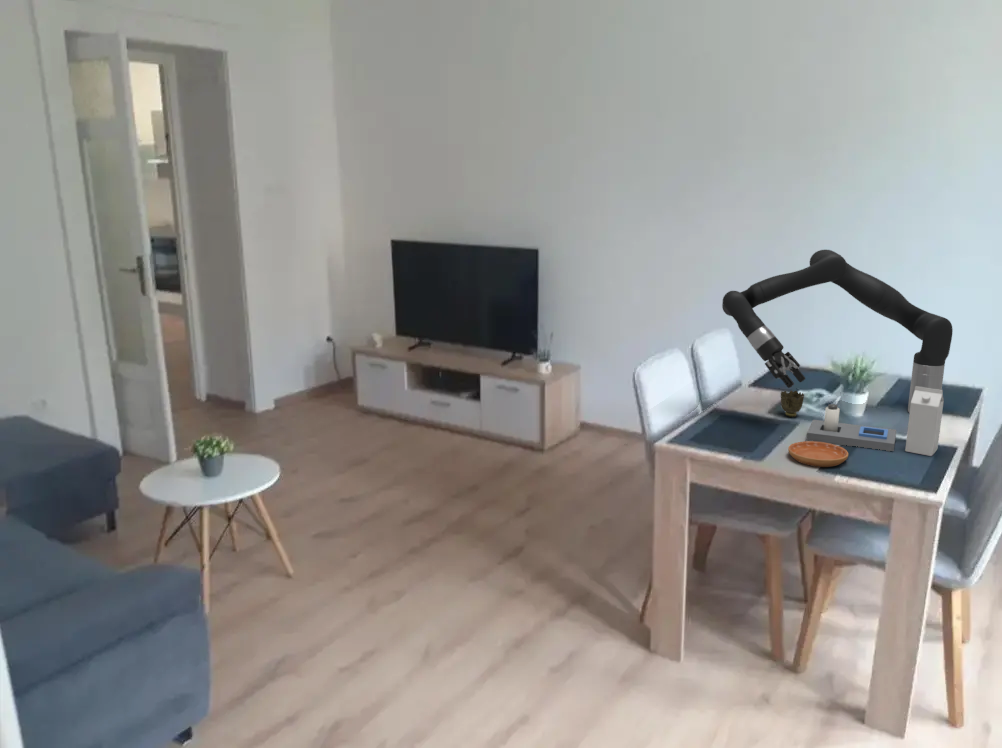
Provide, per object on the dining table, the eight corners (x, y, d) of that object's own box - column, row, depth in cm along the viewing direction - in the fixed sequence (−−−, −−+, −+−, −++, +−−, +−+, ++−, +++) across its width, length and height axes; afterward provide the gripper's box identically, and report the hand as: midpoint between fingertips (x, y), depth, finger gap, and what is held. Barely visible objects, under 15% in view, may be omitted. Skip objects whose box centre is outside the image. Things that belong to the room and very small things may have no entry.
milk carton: (910, 445, 236) (918, 383, 231) (937, 449, 231) (945, 387, 227) (904, 451, 231) (912, 389, 226) (931, 456, 226) (940, 393, 221)
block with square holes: (812, 427, 253) (813, 417, 253) (895, 437, 242) (896, 427, 242) (806, 440, 241) (807, 430, 241) (893, 451, 230) (894, 441, 230)
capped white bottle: (823, 433, 247) (826, 402, 245) (837, 435, 245) (840, 404, 243) (822, 437, 244) (825, 406, 241) (836, 439, 242) (839, 407, 240)
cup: (783, 419, 261) (785, 396, 259) (775, 413, 268) (777, 390, 266) (806, 419, 261) (808, 396, 259) (797, 412, 268) (799, 389, 266)
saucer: (782, 449, 235) (782, 440, 234) (837, 450, 233) (838, 441, 233) (795, 469, 220) (796, 459, 219) (855, 470, 218) (856, 460, 217)
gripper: (763, 339, 246) (796, 381, 241) (783, 332, 256) (815, 372, 251) (746, 353, 251) (778, 395, 246) (766, 346, 261) (798, 385, 256)
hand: (797, 383), depth 249 cm, fingers open, 8 cm apart
